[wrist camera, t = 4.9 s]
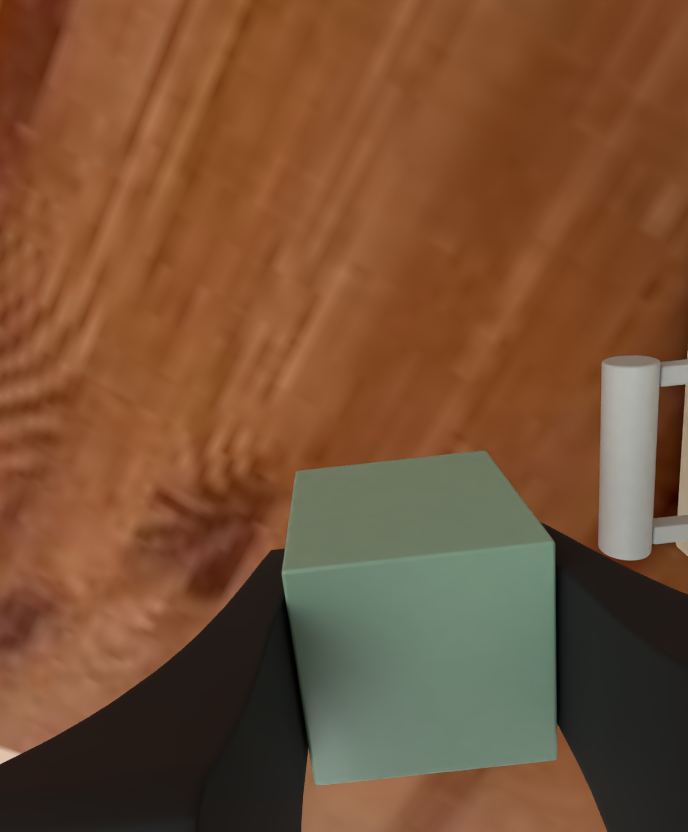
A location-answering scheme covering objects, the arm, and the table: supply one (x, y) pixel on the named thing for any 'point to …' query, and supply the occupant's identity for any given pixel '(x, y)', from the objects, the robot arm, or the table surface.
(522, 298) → the table surface
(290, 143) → the table surface
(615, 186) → the table surface
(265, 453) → the table surface
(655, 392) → the drawer
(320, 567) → the block
